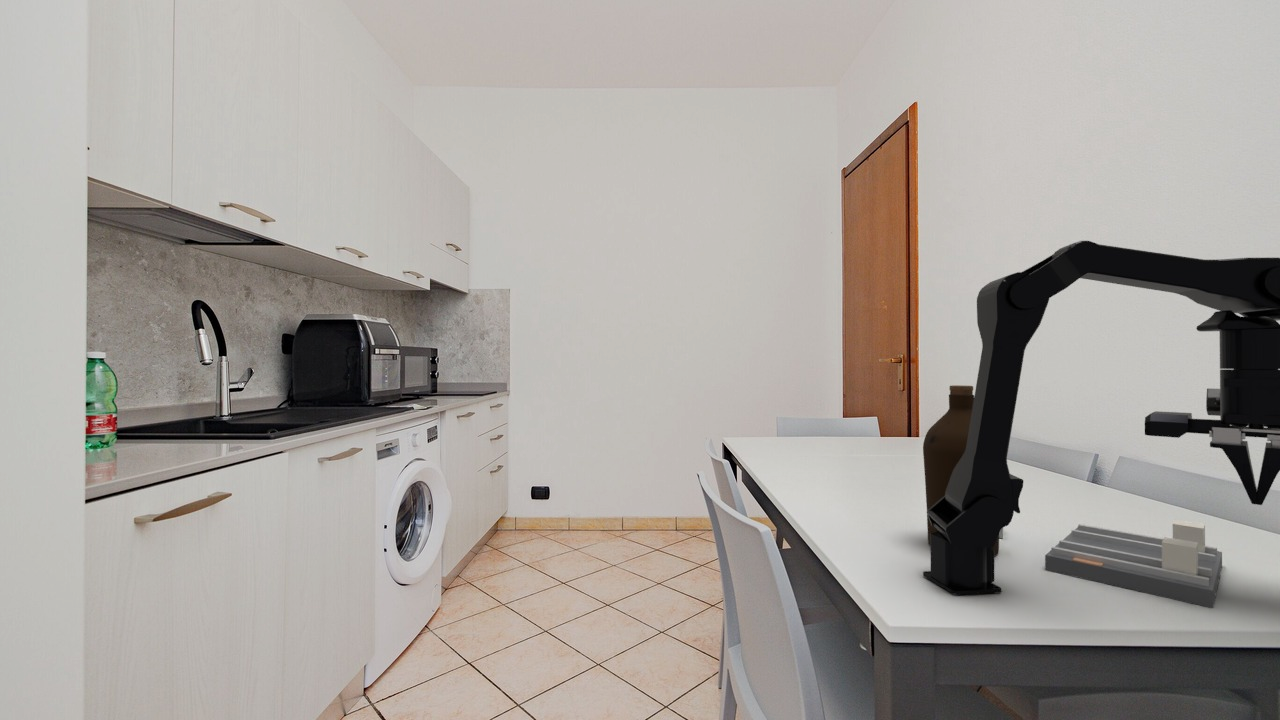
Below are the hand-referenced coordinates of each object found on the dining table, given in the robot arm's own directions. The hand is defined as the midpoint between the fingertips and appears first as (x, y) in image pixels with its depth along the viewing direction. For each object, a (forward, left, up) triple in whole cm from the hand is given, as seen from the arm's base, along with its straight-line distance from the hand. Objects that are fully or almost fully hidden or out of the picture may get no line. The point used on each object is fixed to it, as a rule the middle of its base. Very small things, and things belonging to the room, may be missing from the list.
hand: (1256, 504), depth 64 cm
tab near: (-4, +5, -10) cm, 12 cm away
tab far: (+6, +12, -10) cm, 17 cm away
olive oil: (-19, +23, -12) cm, 33 cm away
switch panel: (-2, +13, -12) cm, 18 cm away
